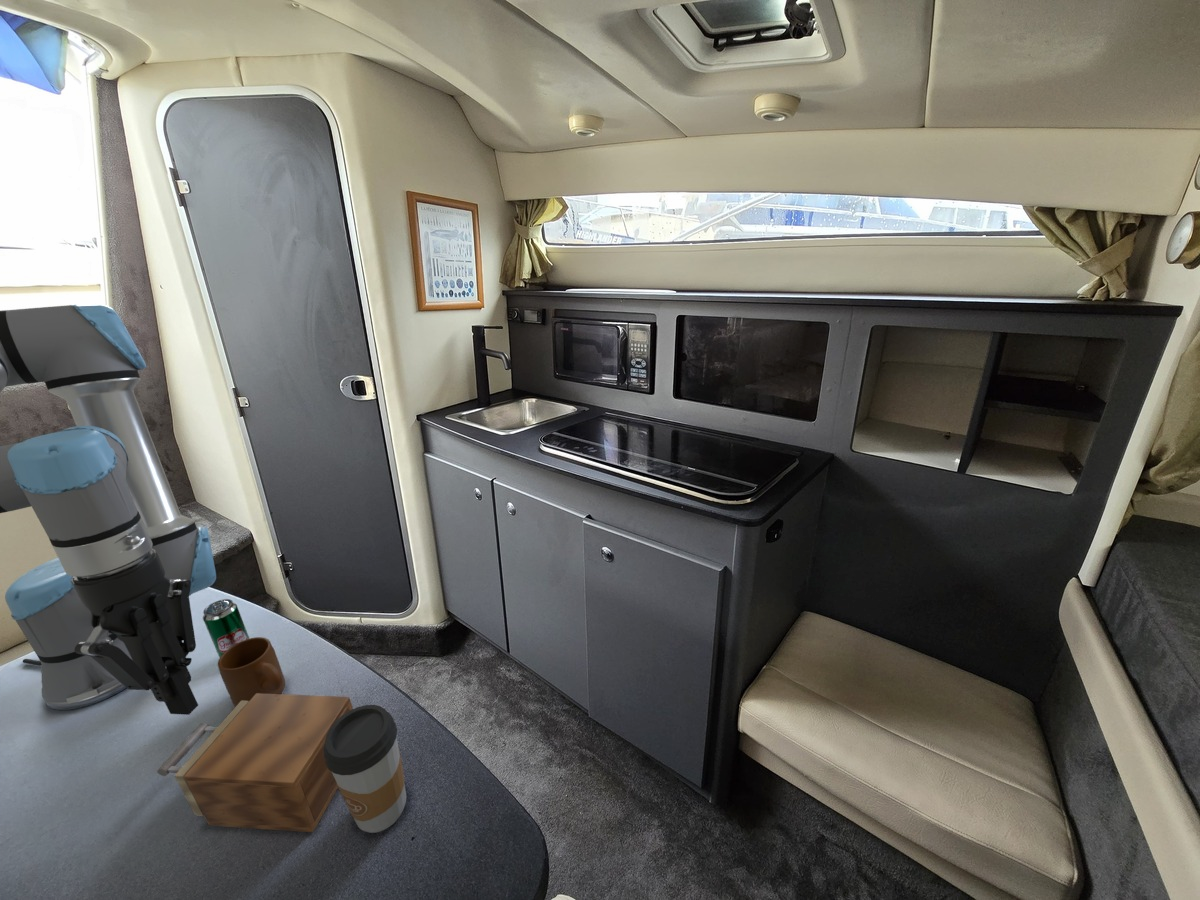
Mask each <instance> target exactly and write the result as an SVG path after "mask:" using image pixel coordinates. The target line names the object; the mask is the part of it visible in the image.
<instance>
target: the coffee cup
mask: <svg viewBox="0 0 1200 900" xmlns="http://www.w3.org/2000/svg"><path fill="white" fill-rule="evenodd" d="M397 735H398V727H397V723H396V722H395V720H394V717H393V716H392V714H391V713H390V712H389V711H388V710H386V709H385V708H384V707H382V706H381V705H376V704H364V705H360V706H357V707H355V708H353V710H350V711H349V712H347V713H345V714H344V715H342V716H341V717H340V718H339V719H338V720H337V721H336V722H335V723H334V724H333V725H332V726H331V728H330V729H329V731H328V733H327V736H326V739H325V745H324V758H325V764H326V766H327V768H328V769H329V770H330V771H331V772H332V774H333V776H334V778H335V780H336V782H337V786H338V791H339V792H340V795H341V797H342V798H343V800H344V803H345V805H346V807H347V810H349V813H350V815H351V816H352V817H353V819H354V822H355V823H356V826H357V828H359V829H360V830H361V831H363V832H366V833H370V834H373V833H376V834H377V833H380V832H383V831H385V830H387V829H388V828H390V827H391V826H392V825H394V824H395V823H396V822H397V821H398V819H399V818H400V816H401V815H402V813H403V812H404V809H405V806H406V804H407V791H406V785H405V775H404V769H403V768H404V767H403V762H402V756H401V751H400V747H399V743H398V736H397Z"/></svg>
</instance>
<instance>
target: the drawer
mask: <svg viewBox="0 0 1200 900" xmlns="http://www.w3.org/2000/svg"><path fill="white" fill-rule="evenodd" d="M248 702H249V701H240V703H239V704H238V705H237V706H236V707H235V706H234V708H233V709H232V710H231V711H230V712H229V714H227V716H226V717H225V718H224V719H223V720H222V722H221V723H220V724H219V725H218V726H209V725H208V724H207V723H204V722H201V723H200V724H199V725H198V726H197V727H196V728H195V729H194V730H193V731H192V732H191V733H190V734H189V735H188V736H187V737H186V739H184V741H182V743H181V744H180V745H179V746H178V747H177V748H176V749H175V750H174V751H173V753H171V754H170V756H169V757H167V759H166V760H165V761H164V762H163V763H162V764H161V765H160V766H159V767H158V769H157V770H156V772H157V774H159V776H162V777H166V776H168V774H174V778H175V780H176V782H177V784H178V786H179V787H180V789H181V791H182V793H183V795H184V797H185V799H186V801H187V803H188V804H189V807H190V808H191V810H192V813H193V814H194V816H198V817H204V815H203V813H202V811H201V809H200V807H199V805H198V803H197V801H196V799H195V797H194V796H193V794H192V792H191V790H190V788H189V786H188V784H187V782H186V780H185V778H184V776H185V775H186V774H187V772H188V771H189V770H190V769H191V768H192V767H193V765H194V764H195V763H196V762H197V761H198V760H199V759H200V757H201V756H202V755H203V754H204V753H205V752H206V751H207V749H208V748H209V747H210V746H211V745H212V744H213V742H214V741H215V740H216V739H217V738H218V737H219V736H220V734H221V733H222V732H223V731H224V730H225V729H226V728H227V726H228V725H229V724H230V723H231V722H232V721H233V720H234V718H235V717H236V716H237V715H238V714H239V713H240V711H241V710H242V709H243V708H244V707H245V706H246V705H247V703H248ZM206 733H207V734H210V735H209V736H208V737H207V738H206V739H205V740H204V742H203V743H202V744H201V745H200V746H199V748H198V749H197V750H196V751H195V752H194V753H193V754H192V755H191V756H190V758H189V759H188V760H187V761H186V762H185V763H184V764H183V765H182V766H180V765H178V764H179V762H180V761H182V759H183V758H184V757H185V756H186V755H187V754H188V752H190V751H191V749H192V748H193V747H194V746H195V745H196V744H197V743H198V742H199V740H200V739H201V738H203V736H204V735H205V734H206Z"/></svg>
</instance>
